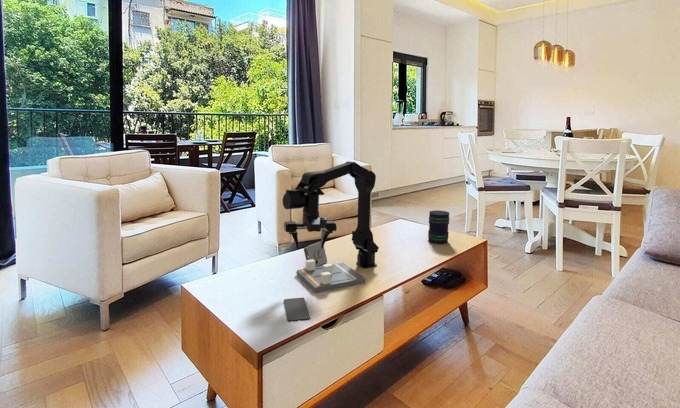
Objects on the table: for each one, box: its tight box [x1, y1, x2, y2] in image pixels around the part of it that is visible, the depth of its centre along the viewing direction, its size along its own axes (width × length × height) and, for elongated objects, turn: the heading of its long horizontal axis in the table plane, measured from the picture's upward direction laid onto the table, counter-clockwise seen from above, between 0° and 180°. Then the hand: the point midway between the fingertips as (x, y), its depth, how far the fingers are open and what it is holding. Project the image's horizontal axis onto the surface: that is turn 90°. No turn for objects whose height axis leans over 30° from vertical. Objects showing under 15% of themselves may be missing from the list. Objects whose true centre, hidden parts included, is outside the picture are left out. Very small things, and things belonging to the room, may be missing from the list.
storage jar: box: [427, 210, 450, 245], centre depth 196 cm, size 10×10×15 cm
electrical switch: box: [303, 241, 328, 267], centre depth 165 cm, size 9×5×9 cm, turn 141°
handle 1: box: [305, 259, 315, 271], centre depth 153 cm, size 3×2×4 cm
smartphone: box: [283, 296, 311, 323], centre depth 125 cm, size 7×1×15 cm
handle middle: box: [322, 263, 333, 275], centre depth 148 cm, size 3×2×4 cm
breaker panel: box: [296, 262, 367, 294], centre depth 149 cm, size 20×19×2 cm
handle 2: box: [321, 272, 331, 285], centre depth 140 cm, size 3×2×4 cm
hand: (309, 248), depth 146 cm, fingers open, 9 cm apart
